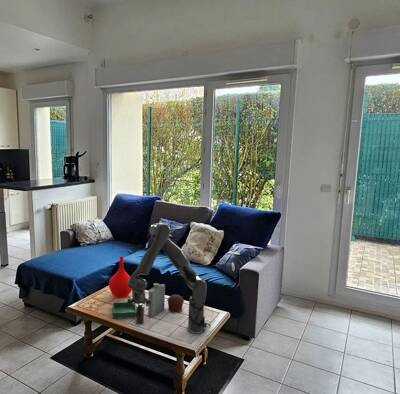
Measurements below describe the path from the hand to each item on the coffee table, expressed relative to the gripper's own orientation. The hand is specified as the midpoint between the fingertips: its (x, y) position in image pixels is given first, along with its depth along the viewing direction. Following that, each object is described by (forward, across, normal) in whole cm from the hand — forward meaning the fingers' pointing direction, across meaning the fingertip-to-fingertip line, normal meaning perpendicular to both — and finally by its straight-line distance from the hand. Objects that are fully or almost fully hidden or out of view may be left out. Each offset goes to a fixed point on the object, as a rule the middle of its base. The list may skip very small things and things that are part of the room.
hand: (139, 304), depth 210 cm
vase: (+41, +17, -21) cm, 49 cm away
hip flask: (+23, -10, -3) cm, 25 cm away
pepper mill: (+13, 0, +6) cm, 15 cm away
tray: (+22, +11, -2) cm, 25 cm away
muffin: (+27, -23, -7) cm, 36 cm away
